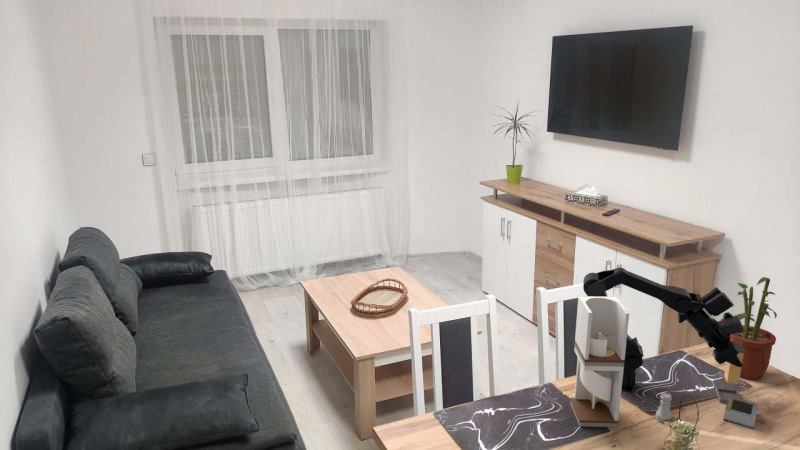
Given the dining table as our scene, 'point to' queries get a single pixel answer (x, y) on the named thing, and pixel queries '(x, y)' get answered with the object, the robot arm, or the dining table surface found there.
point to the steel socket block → (741, 412)
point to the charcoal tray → (726, 394)
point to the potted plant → (755, 335)
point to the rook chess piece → (664, 408)
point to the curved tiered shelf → (599, 360)
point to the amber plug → (731, 370)
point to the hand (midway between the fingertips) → (739, 362)
